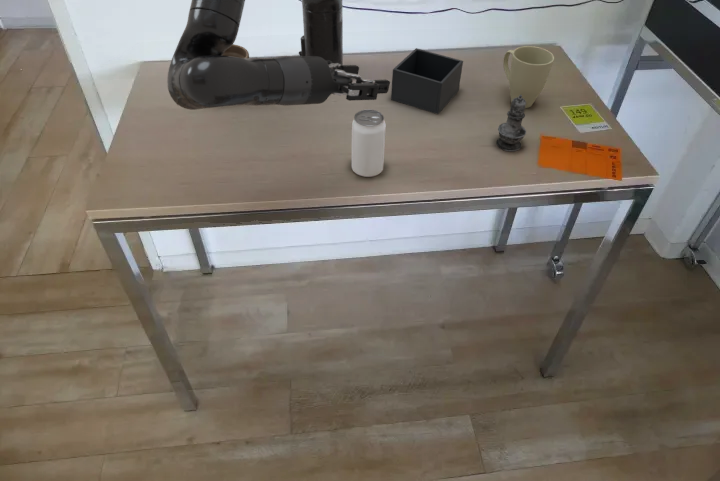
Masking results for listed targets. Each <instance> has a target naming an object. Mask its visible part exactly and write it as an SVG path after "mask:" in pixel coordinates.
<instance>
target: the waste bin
mask: <svg viewBox="0 0 720 481" xmlns="http://www.w3.org/2000/svg"><path fill="white" fill-rule="evenodd" d="M463 66H464V60H461V59H458V58H454V57H451V56H446V55H443V54H440V53H436V52H431V51H428V50H425V49H421V48H418V47H416V48H414V49H413V51H411V52H410V53H409V54H408V55H407V56H406V57H405V58H404V59H402V60H401V61H400V62H399V63H398V64H397V65H396V66H395V67H394V68H393V69H392V78H391V91H390V92H391V93H390V100H392V101H394V102H398V103H400V104H404V105H407V106H410V107H414V108H417V109H419V110H423V111H426V112H429V113H433V114H435V115H439V114H440V113H441V111H443V109H444V108H445V107H446V106H447V105H448V104H449V102H450V101H451V100H452V99H453V98H454V97H455V95H456V94H457V93H458V92H459V90H460V84H461V78H462V72H463Z"/></svg>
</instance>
